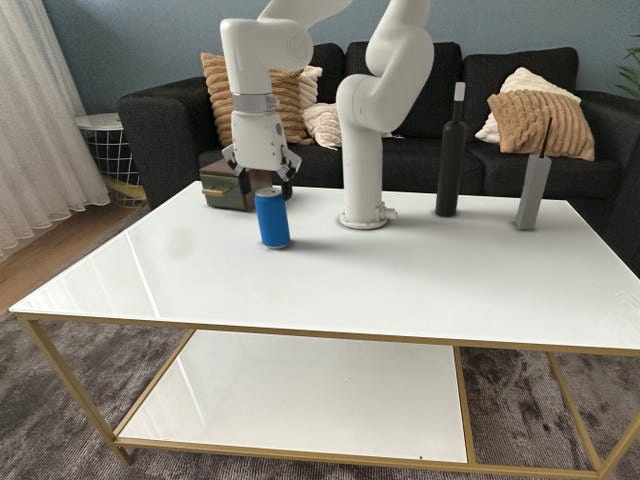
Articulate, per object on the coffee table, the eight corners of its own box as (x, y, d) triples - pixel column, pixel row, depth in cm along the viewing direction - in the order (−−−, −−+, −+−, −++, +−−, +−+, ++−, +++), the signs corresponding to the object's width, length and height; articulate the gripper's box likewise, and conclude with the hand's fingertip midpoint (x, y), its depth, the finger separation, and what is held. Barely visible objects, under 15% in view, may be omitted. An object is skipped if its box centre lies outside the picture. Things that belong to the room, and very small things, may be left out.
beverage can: (294, 239, 97) (287, 187, 89) (286, 251, 92) (278, 197, 85) (267, 237, 98) (258, 186, 90) (258, 249, 93) (248, 195, 85)
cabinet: (249, 211, 110) (241, 174, 104) (208, 206, 113) (199, 169, 107) (274, 194, 121) (268, 159, 115) (236, 189, 124) (229, 155, 117)
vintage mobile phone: (527, 222, 108) (554, 114, 91) (533, 230, 104) (563, 118, 88) (513, 222, 108) (538, 114, 91) (519, 230, 104) (546, 118, 88)
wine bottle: (459, 212, 113) (477, 82, 93) (450, 218, 109) (467, 84, 89) (440, 208, 115) (454, 80, 95) (431, 214, 111) (444, 82, 92)
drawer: (236, 214, 106) (229, 183, 101) (197, 209, 108) (189, 179, 103) (268, 193, 119) (263, 165, 114) (233, 189, 121) (227, 161, 116)
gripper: (303, 104, 78) (311, 195, 89) (223, 97, 81) (240, 186, 92) (286, 110, 72) (296, 207, 83) (201, 102, 75) (221, 196, 86)
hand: (267, 196), depth 88 cm, fingers open, 9 cm apart
